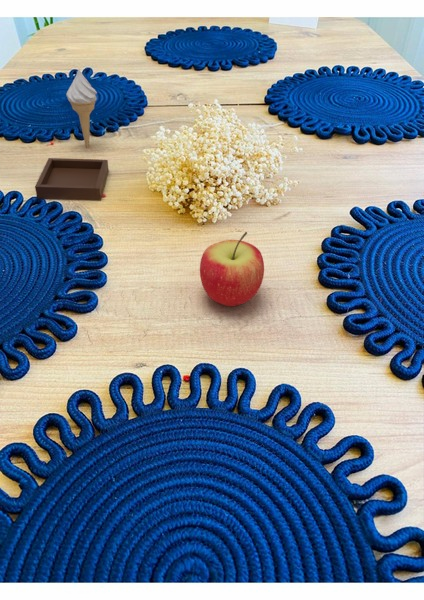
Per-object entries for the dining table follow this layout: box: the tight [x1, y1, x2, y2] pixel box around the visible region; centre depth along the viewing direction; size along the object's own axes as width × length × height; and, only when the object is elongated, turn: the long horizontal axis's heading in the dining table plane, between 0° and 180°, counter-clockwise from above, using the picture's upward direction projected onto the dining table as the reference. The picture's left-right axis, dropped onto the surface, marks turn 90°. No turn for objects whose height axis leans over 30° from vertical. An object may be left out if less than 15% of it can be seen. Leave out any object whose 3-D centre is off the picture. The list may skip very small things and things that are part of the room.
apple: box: [199, 231, 265, 307], centre depth 68 cm, size 8×8×10 cm
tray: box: [34, 157, 110, 201], centre depth 93 cm, size 11×11×2 cm
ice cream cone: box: [65, 68, 98, 149], centre depth 100 cm, size 6×6×15 cm
